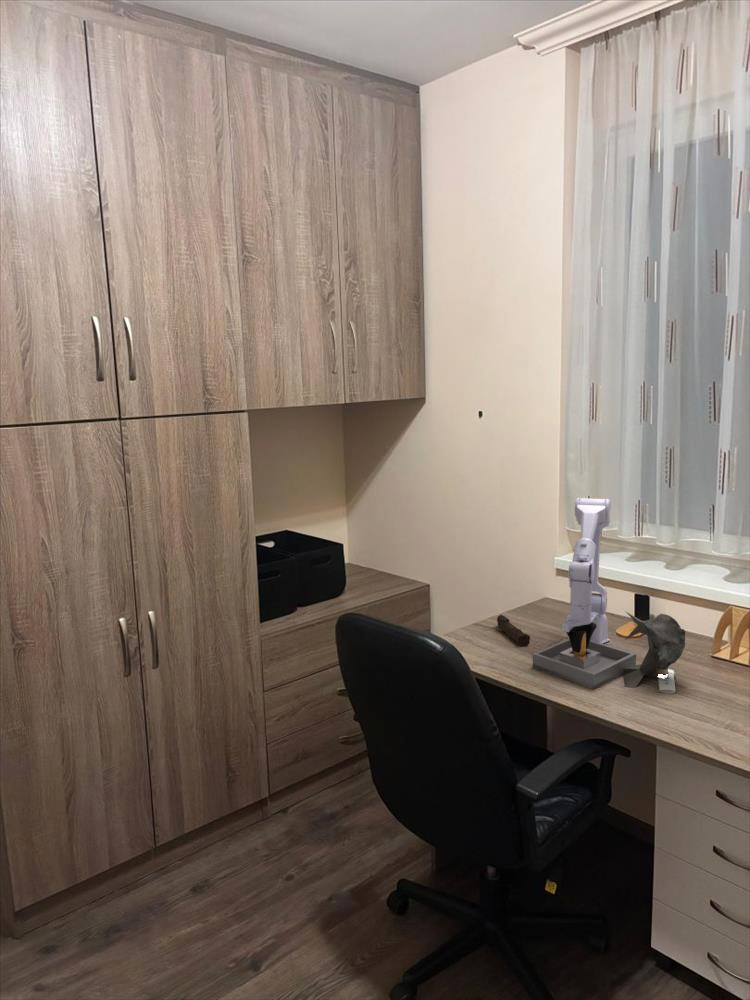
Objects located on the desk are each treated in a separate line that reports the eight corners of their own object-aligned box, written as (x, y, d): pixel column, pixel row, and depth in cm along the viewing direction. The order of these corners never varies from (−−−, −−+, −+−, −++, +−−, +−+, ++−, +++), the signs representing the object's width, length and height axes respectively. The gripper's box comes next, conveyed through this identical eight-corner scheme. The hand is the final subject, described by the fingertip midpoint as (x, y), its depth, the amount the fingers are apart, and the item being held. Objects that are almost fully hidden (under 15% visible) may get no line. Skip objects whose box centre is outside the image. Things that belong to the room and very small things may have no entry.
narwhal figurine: (687, 691, 193) (690, 625, 190) (624, 686, 197) (626, 621, 194) (680, 669, 207) (683, 607, 203) (622, 665, 211) (624, 604, 208)
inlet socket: (576, 653, 218) (576, 645, 218) (600, 661, 212) (600, 652, 212) (559, 661, 213) (559, 652, 213) (583, 669, 207) (583, 660, 206)
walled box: (574, 648, 224) (575, 635, 224) (635, 667, 209) (636, 653, 209) (532, 667, 212) (532, 653, 211) (594, 689, 197) (594, 674, 196)
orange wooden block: (577, 656, 215) (578, 629, 213) (587, 659, 212) (588, 632, 211) (571, 659, 212) (572, 632, 211) (581, 662, 210) (582, 635, 209)
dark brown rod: (530, 646, 228) (530, 631, 227) (518, 647, 227) (518, 633, 226) (506, 626, 246) (506, 612, 245) (494, 627, 245) (494, 613, 244)
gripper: (583, 594, 217) (583, 639, 219) (553, 606, 208) (552, 652, 210) (605, 599, 212) (604, 645, 214) (574, 612, 203) (573, 659, 205)
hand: (580, 649), depth 212 cm, fingers closed on orange wooden block, 3 cm apart
